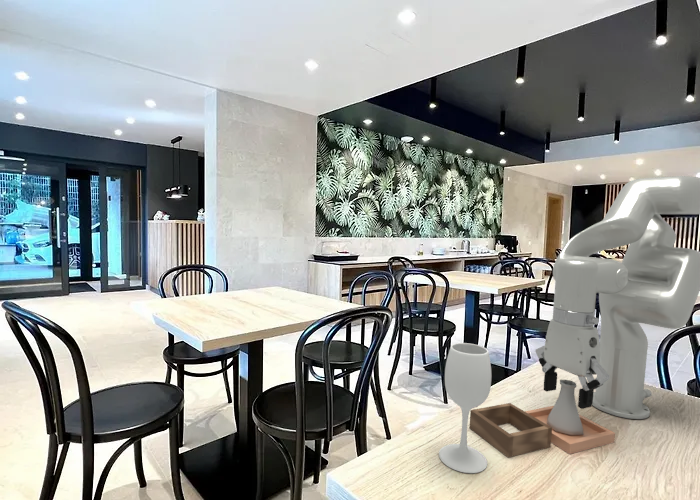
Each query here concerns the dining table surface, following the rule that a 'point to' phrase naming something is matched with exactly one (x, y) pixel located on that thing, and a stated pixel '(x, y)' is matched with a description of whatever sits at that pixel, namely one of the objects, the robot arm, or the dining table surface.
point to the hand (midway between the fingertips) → (566, 397)
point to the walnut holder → (513, 444)
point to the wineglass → (466, 400)
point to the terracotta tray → (576, 443)
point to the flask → (566, 411)
